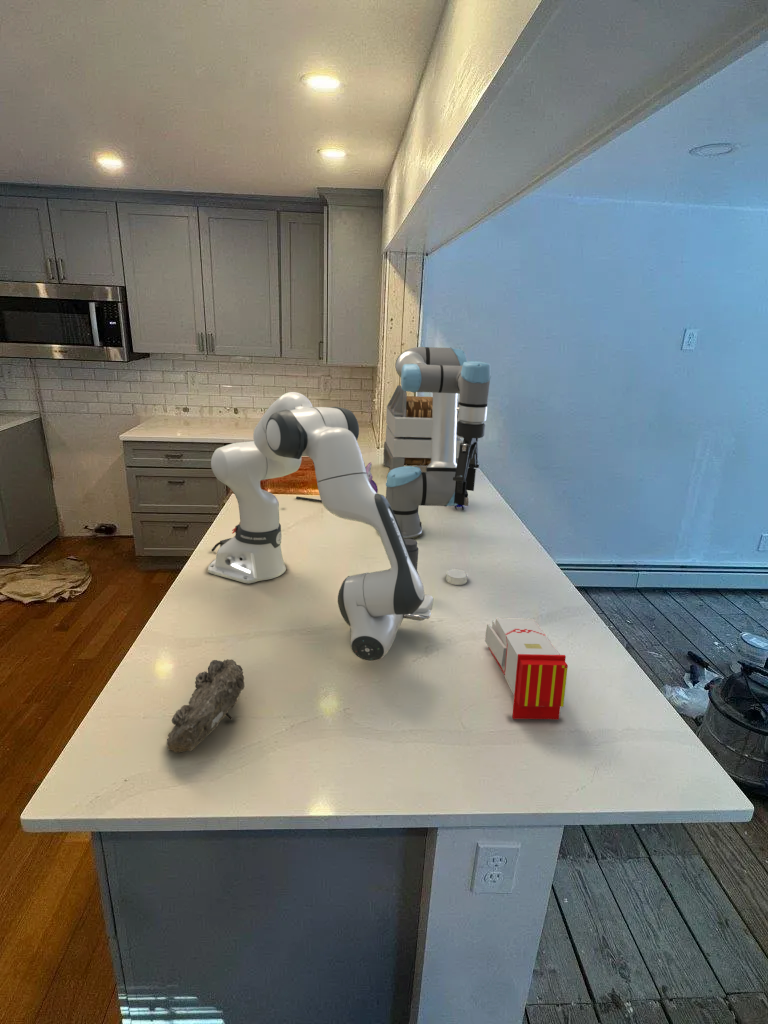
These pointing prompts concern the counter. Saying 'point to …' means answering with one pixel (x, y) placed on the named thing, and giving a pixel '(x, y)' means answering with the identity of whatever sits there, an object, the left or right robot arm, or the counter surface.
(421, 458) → the grey slatted crate
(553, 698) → the toy
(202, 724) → the fossil
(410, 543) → the dark grey tall cylinder
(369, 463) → the figurine
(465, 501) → the figurine character
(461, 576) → the lid
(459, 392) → the right robot arm
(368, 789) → the counter surface
